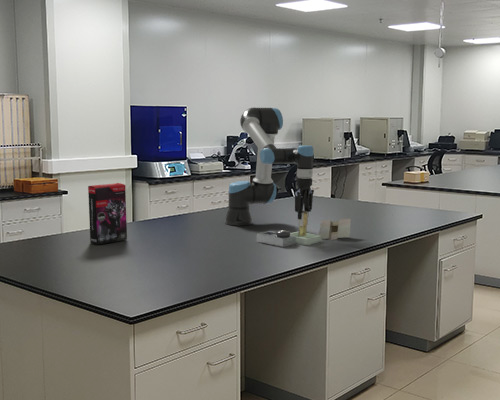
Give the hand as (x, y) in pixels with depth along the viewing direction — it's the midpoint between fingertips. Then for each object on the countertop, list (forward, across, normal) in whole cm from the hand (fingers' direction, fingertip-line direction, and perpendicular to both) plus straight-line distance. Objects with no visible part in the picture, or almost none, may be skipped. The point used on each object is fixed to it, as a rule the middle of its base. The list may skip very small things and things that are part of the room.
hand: (302, 225), depth 298 cm
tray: (+8, 0, 0) cm, 8 cm away
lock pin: (+5, 0, 0) cm, 5 cm away
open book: (+9, +19, -6) cm, 22 cm away
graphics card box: (+8, -69, +63) cm, 94 cm away
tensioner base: (+8, -12, +7) cm, 16 cm away
